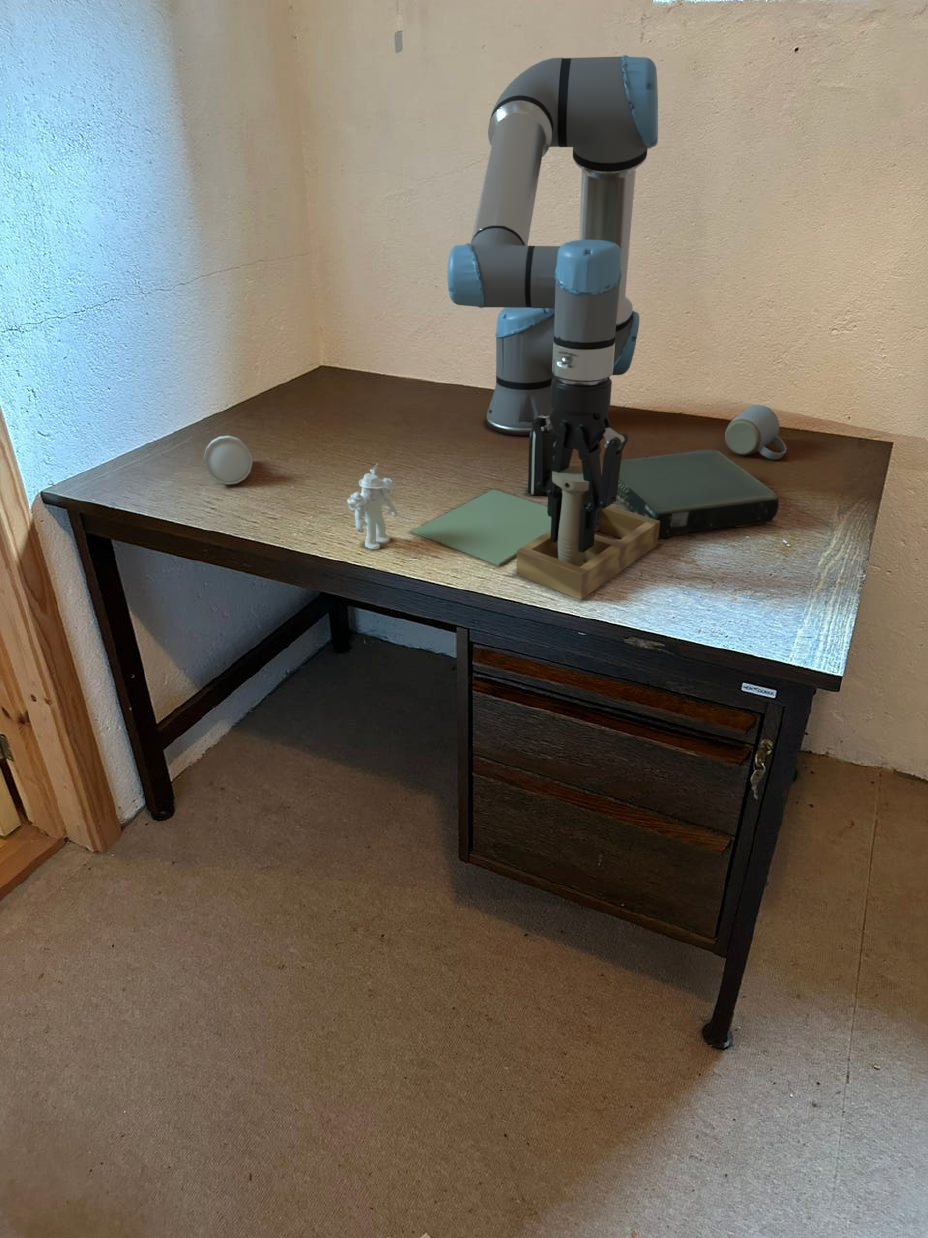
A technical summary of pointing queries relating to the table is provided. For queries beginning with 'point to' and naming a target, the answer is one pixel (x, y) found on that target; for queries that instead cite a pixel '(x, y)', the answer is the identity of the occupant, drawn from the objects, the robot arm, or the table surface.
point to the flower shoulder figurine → (372, 507)
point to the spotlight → (228, 460)
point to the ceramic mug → (755, 433)
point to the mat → (490, 526)
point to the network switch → (694, 492)
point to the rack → (590, 554)
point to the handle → (570, 513)
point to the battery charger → (532, 463)
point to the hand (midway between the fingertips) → (571, 543)
